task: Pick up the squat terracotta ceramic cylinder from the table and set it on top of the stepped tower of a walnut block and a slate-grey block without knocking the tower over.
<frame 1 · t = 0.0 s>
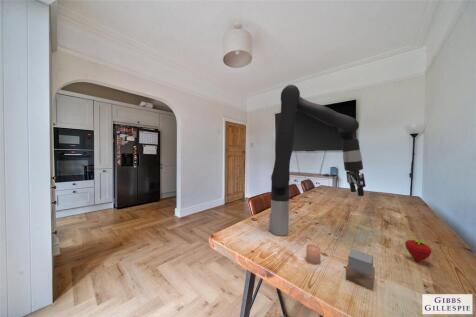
hand: (357, 193, 85), 22 cm above the table, fingers open, 8 cm apart
terracotta cylinder: (313, 260, 68), on the table
strawberry: (417, 261, 68), on the table
tower middle: (360, 267, 58), point 4 cm above the table, touching tower base
tower base: (360, 279, 58), on the table, touching tower middle
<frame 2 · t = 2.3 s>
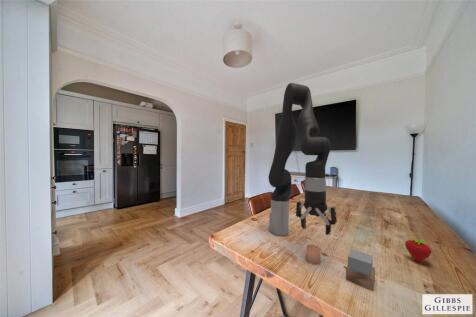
hand: (315, 231, 68), 11 cm above the table, fingers open, 8 cm apart
tower middle: (360, 268, 58), point 4 cm above the table
tower base: (360, 280, 58), on the table
everything else where it was.
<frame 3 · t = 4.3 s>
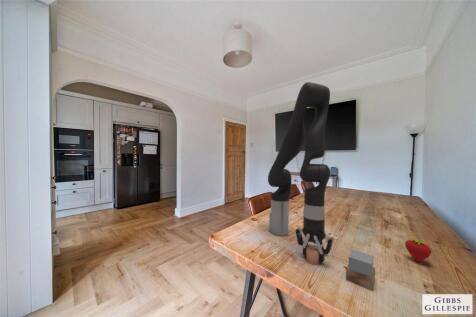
hand: (313, 259, 68), 0 cm above the table, fingers closed on terracotta cylinder, 5 cm apart
terracotta cylinder: (313, 260, 68), on the table, touching gripper
tower middle: (360, 268, 58), point 4 cm above the table, touching tower base
tower base: (360, 280, 58), on the table, touching tower middle
everything else where it was.
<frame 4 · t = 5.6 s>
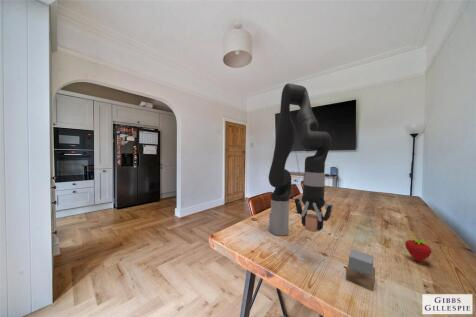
hand: (311, 227, 68), 13 cm above the table, fingers closed on terracotta cylinder, 5 cm apart
terracotta cylinder: (311, 228, 68), point 12 cm above the table, touching gripper
everything else where it was.
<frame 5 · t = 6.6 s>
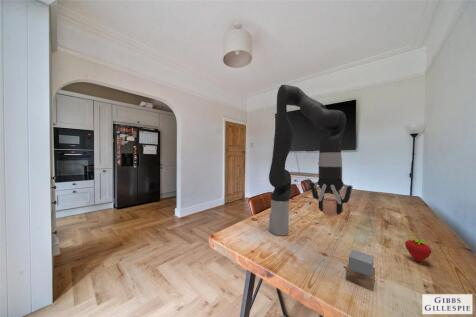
hand: (330, 212, 64), 20 cm above the table, fingers closed on terracotta cylinder, 5 cm apart
terracotta cylinder: (330, 213, 64), point 20 cm above the table, touching gripper
everything else where it was.
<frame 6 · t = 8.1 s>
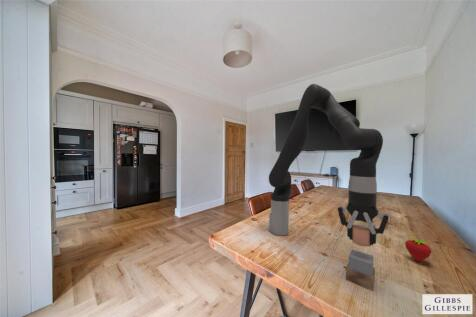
hand: (361, 241, 58), 12 cm above the table, fingers closed on terracotta cylinder, 5 cm apart
terracotta cylinder: (361, 242, 58), point 12 cm above the table, touching gripper
tower middle: (360, 268, 58), point 4 cm above the table
tower base: (360, 280, 58), on the table
everything else where it was.
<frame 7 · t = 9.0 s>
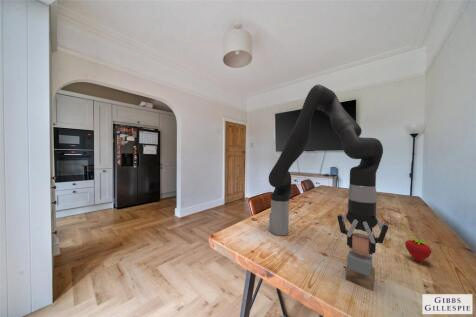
hand: (360, 250, 58), 10 cm above the table, fingers closed on terracotta cylinder, 5 cm apart
terracotta cylinder: (360, 251, 58), point 9 cm above the table, touching gripper
tower middle: (359, 268, 58), point 4 cm above the table, touching tower base
tower base: (360, 280, 58), on the table, touching tower middle
everything else where it was.
when the fingers open (10 cm above the table, at t = 9.5 s): terracotta cylinder drops 1 cm, resting on tower middle.
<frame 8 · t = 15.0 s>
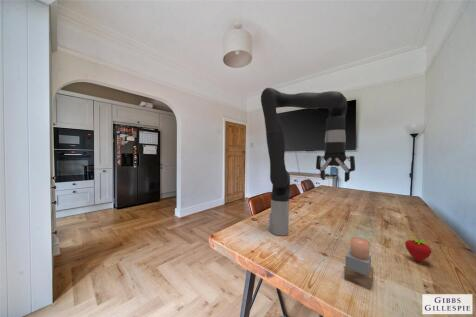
hand: (334, 180, 74), 30 cm above the table, fingers open, 8 cm apart
terracotta cylinder: (359, 255, 58), point 8 cm above the table, touching tower middle
tower middle: (358, 267, 58), point 4 cm above the table, touching terracotta cylinder, tower base
everything else where it was.
at the end: terracotta cylinder 0.4 cm off-centre on the tower middle, point 4.0 cm above the tower middle's base; tower middle 0.3 cm from the tower base (horizontally); terracotta cylinder tilted 0° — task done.
